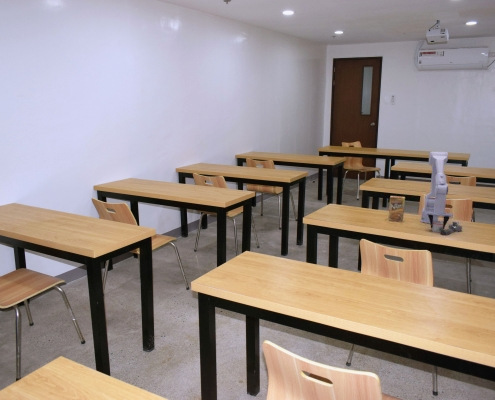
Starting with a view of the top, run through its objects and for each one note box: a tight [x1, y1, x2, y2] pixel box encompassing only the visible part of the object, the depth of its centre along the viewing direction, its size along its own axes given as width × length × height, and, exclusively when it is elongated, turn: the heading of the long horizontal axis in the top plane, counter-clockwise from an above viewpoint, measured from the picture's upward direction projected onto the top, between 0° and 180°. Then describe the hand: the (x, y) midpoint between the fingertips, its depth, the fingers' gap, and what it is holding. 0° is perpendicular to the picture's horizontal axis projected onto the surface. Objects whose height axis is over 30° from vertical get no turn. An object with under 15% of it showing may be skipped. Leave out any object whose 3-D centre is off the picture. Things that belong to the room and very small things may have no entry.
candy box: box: [387, 195, 406, 223], centre depth 273 cm, size 9×4×15 cm, turn 70°
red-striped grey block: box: [431, 220, 444, 233], centre depth 251 cm, size 5×5×6 cm
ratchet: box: [439, 220, 463, 237], centre depth 250 cm, size 7×19×5 cm, turn 132°
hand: (437, 228), depth 252 cm, fingers open, 6 cm apart
